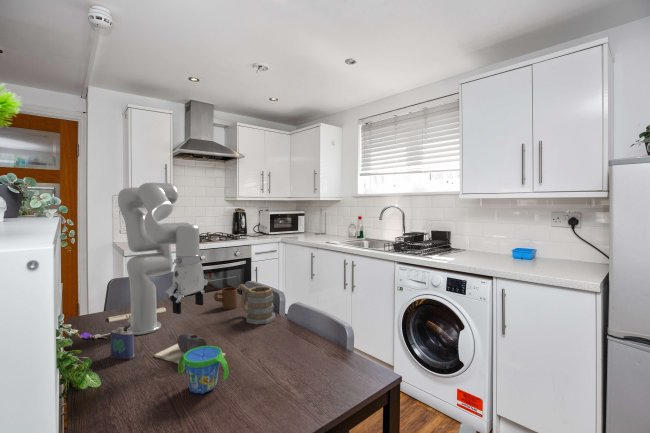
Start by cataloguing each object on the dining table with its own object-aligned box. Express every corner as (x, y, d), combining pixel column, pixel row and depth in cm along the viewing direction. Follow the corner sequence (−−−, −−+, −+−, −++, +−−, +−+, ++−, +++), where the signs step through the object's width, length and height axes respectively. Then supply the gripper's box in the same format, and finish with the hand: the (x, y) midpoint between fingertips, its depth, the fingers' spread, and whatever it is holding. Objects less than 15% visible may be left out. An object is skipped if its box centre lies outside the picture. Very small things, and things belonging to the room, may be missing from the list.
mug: (217, 312, 160) (217, 293, 159) (211, 308, 165) (210, 290, 165) (240, 307, 168) (239, 289, 167) (233, 303, 173) (233, 286, 173)
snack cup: (237, 383, 97) (236, 349, 97) (212, 403, 88) (212, 366, 87) (195, 373, 103) (195, 341, 103) (168, 391, 93) (167, 356, 93)
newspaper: (163, 309, 166) (163, 306, 166) (166, 313, 161) (166, 310, 161) (108, 320, 152) (108, 316, 152) (109, 324, 147) (109, 320, 146)
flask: (136, 357, 114) (135, 326, 114) (129, 361, 111) (127, 330, 111) (115, 353, 117) (114, 324, 116) (107, 357, 114) (106, 327, 113)
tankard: (280, 317, 152) (279, 285, 152) (261, 326, 142) (260, 292, 141) (249, 310, 163) (248, 280, 163) (229, 317, 153) (229, 285, 152)
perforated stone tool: (172, 350, 118) (172, 331, 117) (186, 345, 122) (186, 326, 121) (194, 362, 108) (194, 342, 108) (209, 357, 112) (208, 337, 112)
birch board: (154, 356, 114) (154, 354, 114) (180, 344, 124) (180, 342, 124) (201, 370, 105) (201, 367, 105) (225, 355, 115) (225, 353, 115)
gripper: (174, 265, 104) (175, 318, 105) (214, 257, 119) (214, 303, 120) (158, 263, 107) (159, 315, 108) (199, 255, 123) (199, 300, 124)
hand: (188, 308), depth 114 cm, fingers open, 9 cm apart
